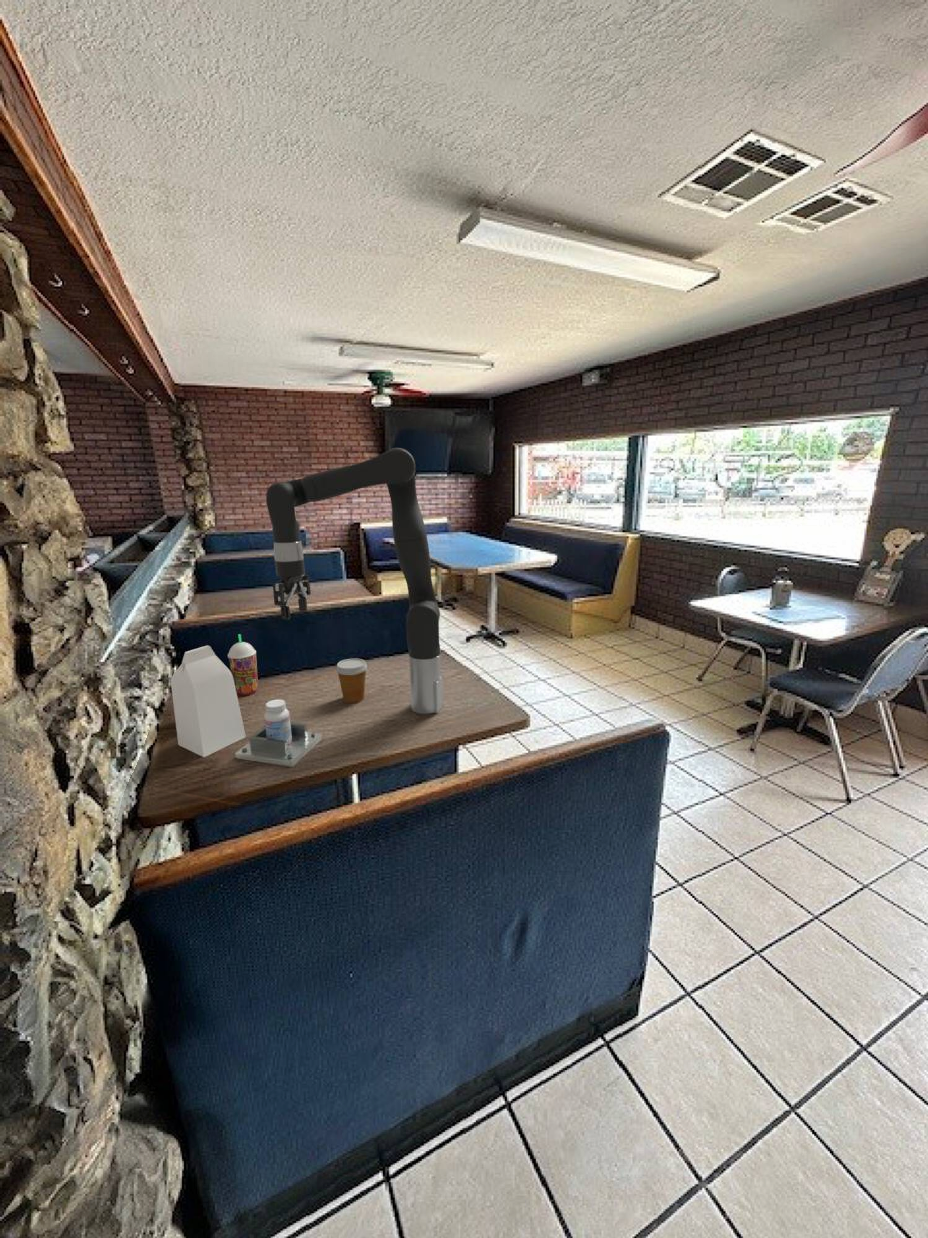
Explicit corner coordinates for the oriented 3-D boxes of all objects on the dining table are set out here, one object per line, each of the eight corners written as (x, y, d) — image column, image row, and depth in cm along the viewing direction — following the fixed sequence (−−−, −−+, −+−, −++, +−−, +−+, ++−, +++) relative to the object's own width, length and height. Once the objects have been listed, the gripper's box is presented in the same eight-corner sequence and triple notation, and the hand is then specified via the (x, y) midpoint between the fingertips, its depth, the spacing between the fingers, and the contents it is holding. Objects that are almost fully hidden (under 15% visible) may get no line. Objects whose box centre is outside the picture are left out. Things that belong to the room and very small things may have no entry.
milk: (204, 757, 128) (187, 660, 121) (178, 745, 134) (161, 652, 127) (245, 736, 138) (233, 646, 131) (220, 726, 144) (206, 639, 136)
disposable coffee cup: (365, 705, 156) (363, 669, 152) (335, 705, 156) (331, 669, 153) (372, 692, 165) (369, 657, 162) (342, 692, 165) (340, 657, 162)
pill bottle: (262, 746, 130) (256, 706, 127) (278, 735, 135) (274, 696, 132) (281, 750, 128) (276, 710, 125) (297, 739, 133) (292, 700, 130)
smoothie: (234, 700, 160) (225, 640, 155) (232, 690, 167) (224, 632, 162) (262, 695, 164) (255, 635, 158) (259, 685, 171) (252, 629, 165)
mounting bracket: (322, 738, 136) (320, 721, 135) (292, 766, 123) (290, 748, 122) (269, 731, 140) (267, 715, 139) (236, 758, 127) (233, 740, 126)
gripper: (286, 562, 131) (292, 623, 136) (315, 554, 145) (320, 609, 149) (261, 561, 133) (268, 621, 138) (291, 553, 146) (297, 608, 151)
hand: (295, 615), depth 143 cm, fingers open, 8 cm apart
